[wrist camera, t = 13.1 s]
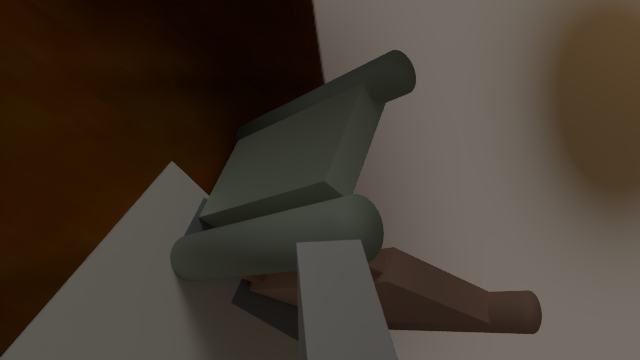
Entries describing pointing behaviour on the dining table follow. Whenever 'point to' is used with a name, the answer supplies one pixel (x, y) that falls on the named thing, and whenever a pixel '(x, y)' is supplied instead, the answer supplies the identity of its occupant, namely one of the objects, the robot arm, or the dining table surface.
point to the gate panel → (426, 298)
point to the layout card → (157, 296)
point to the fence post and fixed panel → (296, 178)
